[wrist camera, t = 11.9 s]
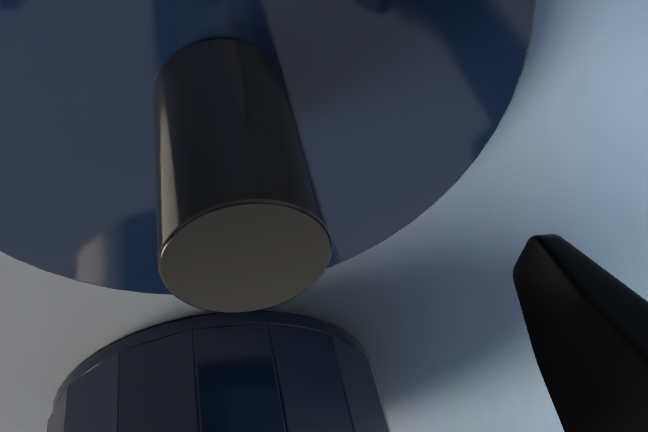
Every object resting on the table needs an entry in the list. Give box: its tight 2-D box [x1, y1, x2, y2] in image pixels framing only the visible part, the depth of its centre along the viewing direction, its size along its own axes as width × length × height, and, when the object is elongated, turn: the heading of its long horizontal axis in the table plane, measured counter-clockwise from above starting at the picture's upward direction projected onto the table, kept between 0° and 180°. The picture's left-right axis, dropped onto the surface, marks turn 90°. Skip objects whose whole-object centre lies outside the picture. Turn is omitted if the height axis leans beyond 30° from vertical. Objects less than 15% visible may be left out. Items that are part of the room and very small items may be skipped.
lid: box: [0, 0, 536, 313], centre depth 11 cm, size 13×13×5 cm
